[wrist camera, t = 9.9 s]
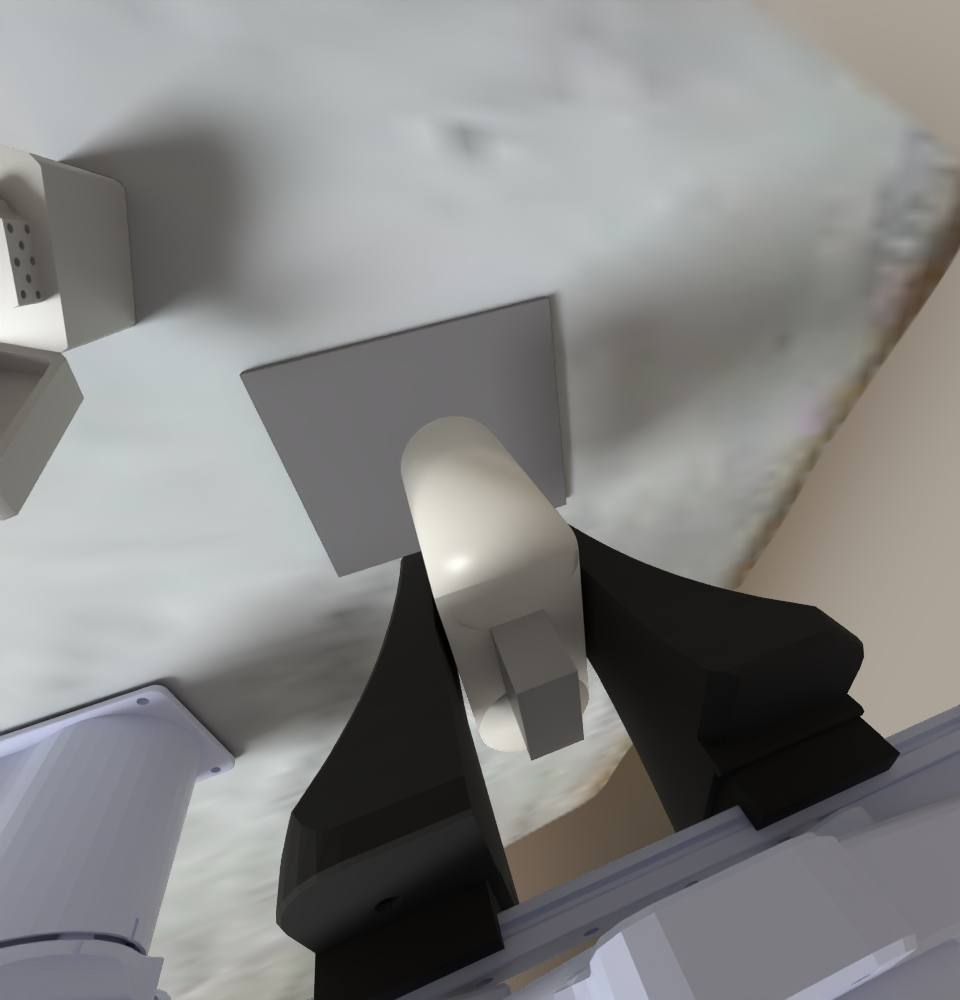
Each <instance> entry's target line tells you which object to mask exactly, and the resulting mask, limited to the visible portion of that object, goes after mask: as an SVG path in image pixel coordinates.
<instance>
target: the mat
mask: <svg viewBox="0 0 960 1000" xmlns="http://www.w3.org/2000/svg"><path fill="white" fill-rule="evenodd" d="M240 377H241V379H242V381H243V383H244V385H245V387H246V390H247V392H248V394H249V396H250V398H251V400H252V402H253V404H254V406H255V408H256V410H257V412H258V414H259V416H260V418H261V420H262V422H263V424H264V426H265V428H266V430H267V432H268V434H269V436H270V438H271V440H272V442H273V444H274V446H275V448H276V451H277V453H278V455H279V457H280V459H281V461H282V463H283V465H284V467H285V469H286V471H287V473H288V475H289V477H290V479H291V481H292V483H293V485H294V487H295V489H296V491H297V493H298V495H299V497H300V499H301V501H302V503H303V505H304V507H305V509H306V511H307V514H308V516H309V518H310V520H311V522H312V524H313V526H314V528H315V530H316V532H317V534H318V536H319V538H320V540H321V542H322V544H323V546H324V548H325V550H326V552H327V554H328V556H329V558H330V560H331V562H332V564H333V566H334V568H335V570H336V572H337V574H338V577H342V576H345V575H348V574H351V573H354V572H357V571H361V570H364V569H367V568H370V567H373V566H376V565H379V564H382V563H386V562H389V561H392V560H395V559H398V558H401V557H404V556H407V555H410V554H413V553H416V552H419V551H421V548H420V544H419V540H418V536H417V533H416V529H415V525H414V521H413V518H412V514H411V510H410V506H409V503H408V499H407V495H406V491H405V488H404V484H403V480H402V476H401V459H402V455H403V452H404V449H405V447H406V445H407V443H408V442H409V440H410V439H411V437H412V436H413V435H414V434H415V433H416V432H417V431H418V430H419V429H421V428H422V427H423V426H425V425H426V424H428V423H430V422H432V421H434V420H437V419H440V418H444V417H450V416H462V417H468V418H471V419H474V420H476V421H478V422H480V423H482V424H483V425H485V426H486V427H487V428H488V429H489V430H490V431H491V432H492V433H493V434H494V435H495V437H496V438H497V439H498V440H499V442H500V443H501V444H502V445H503V446H504V448H505V449H506V450H507V451H508V452H509V454H510V455H511V456H512V457H513V458H514V460H515V461H516V462H517V463H518V465H519V466H520V467H521V468H522V469H523V471H524V472H525V473H526V474H527V475H528V477H529V478H530V479H531V480H532V481H533V483H534V484H535V485H536V486H537V488H538V489H539V490H540V491H541V492H542V494H543V495H544V496H545V497H546V498H547V500H548V501H549V502H550V503H551V504H552V506H553V507H554V508H557V507H560V506H563V505H566V493H565V481H564V470H563V458H562V446H561V434H560V422H559V410H558V399H557V387H556V375H555V363H554V351H553V339H552V328H551V316H550V304H549V298H546V297H542V298H538V299H534V300H530V301H526V302H522V303H518V304H514V305H510V306H506V307H502V308H498V309H494V310H490V311H486V312H481V313H477V314H473V315H469V316H465V317H461V318H457V319H453V320H449V321H445V322H441V323H437V324H433V325H429V326H425V327H421V328H417V329H413V330H409V331H405V332H401V333H397V334H393V335H389V336H385V337H381V338H377V339H373V340H369V341H364V342H360V343H356V344H352V345H348V346H344V347H340V348H336V349H332V350H328V351H324V352H320V353H316V354H312V355H308V356H304V357H300V358H296V359H292V360H288V361H284V362H280V363H276V364H272V365H268V366H264V367H260V368H256V369H252V370H248V371H243V372H242V373H241V374H240Z"/></svg>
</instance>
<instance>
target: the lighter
mask: <svg viewBox="0 0 960 1000" xmlns="http://www.w3.org/2000/svg"><path fill="white" fill-rule="evenodd" d="M134 324H136V316H135V304H134V291H133V279H132V267H131V255H130V242H129V230H128V218H127V206H126V194H125V188H124V187H123V186H122V185H121V184H120V183H119V182H118V180H115V179H112V178H109V177H106V176H102V175H99V174H96V173H93V172H90V171H86V170H83V169H80V168H77V167H73V166H70V165H67V164H64V163H60V162H57V161H54V160H51V159H48V158H44V157H41V156H38V155H35V154H31V153H28V152H25V151H22V150H18V149H15V148H11V147H8V146H5V145H1V144H0V520H3V521H4V520H6V519H8V518H11V517H13V516H15V515H18V513H19V511H20V510H21V508H22V506H23V504H24V503H25V501H26V499H27V497H28V496H29V494H30V492H31V490H32V489H33V487H34V485H35V483H36V482H37V480H38V478H39V476H40V475H41V473H42V471H43V469H44V468H45V466H46V464H47V462H48V461H49V459H50V457H51V455H52V453H53V452H54V450H55V448H56V446H57V445H58V443H59V441H60V439H61V438H62V436H63V434H64V432H65V431H66V429H67V427H68V425H69V424H70V422H71V420H72V418H73V417H74V415H75V413H76V411H77V410H78V408H79V406H80V404H81V403H82V401H83V399H84V397H83V395H82V392H81V390H80V388H79V386H78V384H77V381H76V379H75V377H74V375H73V373H72V371H71V368H70V366H69V364H68V362H67V360H66V358H65V357H64V356H63V355H62V354H61V353H63V352H65V351H68V350H71V349H73V348H76V347H79V346H81V345H84V344H87V343H90V342H92V341H95V340H98V339H100V338H103V337H106V336H108V335H111V334H114V333H116V332H119V331H122V330H125V329H127V328H130V327H131V326H133V325H134Z"/></svg>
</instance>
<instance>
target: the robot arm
mask: <svg viewBox="0 0 960 1000" xmlns="http://www.w3.org/2000/svg"><path fill="white" fill-rule="evenodd" d="M568 525H569V524H568ZM569 526H570V528H571V529H572V531H573V532H574V534H575V536H576V539H577V542H578V549H579V562H580V576H581V591H582V605H583V619H584V633H585V647H586V657H587V658H588V660H589V661H590V663H591V665H592V666H593V668H594V670H595V671H596V673H597V675H598V676H599V678H600V680H601V682H602V684H603V686H604V688H605V690H606V692H607V693H608V695H609V697H610V699H611V701H612V703H613V705H614V707H615V709H616V711H617V713H618V715H619V717H620V719H621V720H622V722H623V724H624V726H625V728H626V730H627V732H628V734H629V736H630V738H631V740H632V742H633V744H634V746H635V748H636V750H637V752H638V754H639V756H640V759H641V761H642V763H643V764H644V767H645V769H646V771H647V773H648V775H649V777H650V779H651V781H652V783H653V785H654V787H655V790H656V792H657V794H658V796H659V798H660V800H661V802H662V805H663V807H664V809H665V811H666V813H667V815H668V817H669V820H670V822H671V824H672V826H673V828H674V830H675V834H673V835H670V836H668V837H666V838H664V839H662V840H659V841H657V842H655V843H653V844H650V845H648V846H646V847H644V848H642V849H639V850H637V851H635V852H633V853H631V854H628V855H626V856H624V857H622V858H620V859H617V860H615V861H613V862H611V863H609V864H606V865H604V866H602V867H600V868H597V869H595V870H593V871H591V872H589V873H586V874H584V875H582V876H580V877H577V878H575V879H573V880H571V881H569V882H566V883H564V884H562V885H560V886H558V887H555V888H553V889H551V890H549V891H547V892H544V893H542V894H540V895H538V896H535V897H533V898H531V899H529V900H527V901H525V902H522V903H520V904H519V900H518V897H517V893H516V890H515V887H514V883H513V880H512V876H511V873H510V869H509V866H508V862H507V859H506V855H505V852H504V848H503V845H502V841H501V838H500V834H499V831H498V827H497V824H496V820H495V817H494V813H493V809H492V806H491V802H490V799H489V795H488V792H487V788H486V785H485V781H484V778H483V774H482V770H481V767H480V763H479V760H478V756H477V753H476V749H475V745H474V742H473V738H472V735H471V731H470V728H469V724H468V720H467V715H466V711H465V706H464V701H463V696H462V690H461V685H460V679H459V674H458V668H457V665H456V662H455V659H454V656H453V653H452V650H451V647H450V644H449V641H448V638H447V635H446V632H445V629H444V626H443V624H442V621H441V618H440V615H439V612H438V609H437V606H436V603H435V600H434V596H433V593H432V589H431V585H430V581H429V578H428V574H427V570H426V566H425V563H424V559H423V555H422V551H419V552H416V553H413V554H410V555H407V556H404V557H403V558H402V560H401V568H400V577H399V583H398V589H397V594H396V599H395V603H394V607H393V611H392V615H391V619H390V622H389V626H388V629H387V632H386V635H385V639H384V642H383V645H382V648H381V650H380V653H379V656H378V659H377V661H376V664H375V666H374V669H373V671H372V673H371V676H370V678H369V680H368V683H367V685H366V687H365V689H364V691H363V693H362V695H361V698H360V700H359V702H358V704H357V706H356V708H355V710H354V712H353V714H352V716H351V718H350V719H349V721H348V723H347V725H346V726H345V728H344V730H343V732H342V734H341V735H340V737H339V739H338V741H337V742H336V744H335V746H334V748H333V749H332V751H331V753H330V755H329V756H328V758H327V759H326V761H325V763H324V764H323V766H322V767H321V769H320V770H319V772H318V773H317V775H316V776H315V778H314V779H313V781H312V782H311V784H310V785H309V787H308V788H307V790H306V791H305V793H304V794H303V796H302V798H301V799H300V801H299V802H298V804H297V805H296V806H295V808H294V809H293V811H292V812H291V816H290V820H289V825H288V829H287V834H286V838H285V844H284V848H283V853H282V858H281V866H280V875H279V886H278V897H277V908H276V923H277V924H278V926H279V927H280V928H281V929H282V930H283V931H284V932H285V933H286V934H287V935H288V936H290V937H291V938H293V939H294V940H296V941H297V942H299V943H300V944H302V945H304V946H305V947H307V948H308V949H310V950H311V951H313V952H314V953H316V956H315V984H314V997H312V998H310V999H308V1000H960V705H958V706H956V707H953V708H951V709H949V710H947V711H945V712H943V713H940V714H938V715H936V716H933V717H931V718H929V719H927V720H925V721H923V722H920V723H918V724H916V725H914V726H911V727H909V728H907V729H905V730H903V731H900V732H898V733H896V734H894V735H891V736H889V737H887V738H885V739H884V738H883V737H882V736H881V735H880V734H879V733H878V732H876V731H875V730H874V729H873V728H872V727H871V726H870V725H869V724H868V723H867V722H865V721H864V720H863V719H862V718H861V717H860V716H861V715H863V713H864V710H863V708H862V706H861V705H860V704H858V703H857V702H856V701H855V700H854V699H853V698H852V697H851V696H849V695H848V694H847V693H848V691H849V689H850V687H851V685H852V683H853V681H854V679H855V677H856V675H857V673H858V671H859V669H860V667H861V664H862V661H863V658H864V651H863V644H862V642H861V641H860V640H859V639H858V637H856V636H855V635H854V634H852V633H851V632H849V631H848V630H847V629H845V628H844V627H843V626H842V625H840V624H839V623H837V622H836V621H835V620H834V619H832V618H831V617H829V616H828V615H827V614H825V613H824V612H823V611H821V610H820V609H818V608H817V607H815V606H809V605H803V604H798V603H792V602H786V601H780V600H774V599H768V598H762V597H757V596H753V595H748V594H744V593H740V592H735V591H731V590H727V589H723V588H719V587H715V586H711V585H708V584H704V583H701V582H698V581H694V580H691V579H688V578H684V577H681V576H678V575H675V574H672V573H669V572H667V571H664V570H661V569H659V568H656V567H653V566H651V565H648V564H646V563H643V562H641V561H638V560H636V559H634V558H632V557H629V556H627V555H625V554H623V553H621V552H619V551H617V550H614V549H612V548H610V547H609V546H607V545H605V544H603V543H601V542H599V541H597V540H595V539H593V538H592V537H590V536H588V535H586V534H584V533H583V532H581V531H579V530H578V529H576V528H574V527H572V526H571V525H569ZM234 764H235V757H234V756H233V755H232V754H231V753H230V752H229V751H228V750H227V749H226V748H225V747H224V746H223V745H222V744H221V743H220V742H219V741H218V740H217V739H216V738H215V737H214V736H213V735H212V734H211V733H210V732H209V731H208V730H207V729H206V728H205V727H204V726H203V725H202V724H201V723H200V722H199V721H198V720H197V719H196V718H195V717H194V716H193V715H192V714H191V713H190V712H189V711H188V710H187V709H186V708H185V707H184V706H183V705H182V704H181V703H180V702H179V700H178V699H177V698H176V697H175V696H174V695H173V694H172V693H171V692H170V691H169V690H168V689H167V688H165V687H164V686H161V685H152V686H148V687H145V688H142V689H139V690H136V691H133V692H130V693H127V694H125V695H122V696H119V697H116V698H113V699H110V700H107V701H104V702H101V703H98V704H95V705H92V706H89V707H86V708H83V709H80V710H77V711H74V712H71V713H68V714H65V715H62V716H59V717H56V718H53V719H50V720H47V721H44V722H41V723H38V724H35V725H32V726H29V727H26V728H23V729H20V730H17V731H14V732H11V733H8V734H5V735H2V736H0V1000H171V997H170V996H169V995H168V993H167V992H165V991H163V990H160V989H157V985H158V981H159V977H160V973H161V969H162V965H163V961H164V959H163V958H162V957H150V956H147V955H148V951H149V948H150V944H151V940H152V937H153V933H154V930H155V926H156V922H157V919H158V915H159V911H160V908H161V904H162V900H163V897H164V893H165V890H166V886H167V882H168V879H169V875H170V871H171V868H172V864H173V860H174V857H175V853H176V849H177V846H178V842H179V839H180V835H181V831H182V828H183V824H184V820H185V817H186V813H187V809H188V806H189V802H190V799H191V795H192V791H193V788H194V784H195V783H196V782H199V781H201V780H204V779H207V778H209V777H212V776H215V775H217V774H220V773H223V772H226V771H228V770H230V769H232V768H233V767H234ZM605 932H607V933H606V934H604V935H603V936H602V937H601V938H599V940H598V941H597V944H596V945H594V946H593V947H591V948H589V949H587V950H586V951H584V952H582V953H580V954H579V955H577V956H576V957H574V958H572V959H570V960H569V961H567V962H565V963H564V964H562V965H560V966H559V967H557V968H555V969H553V970H552V971H550V972H548V973H547V974H545V975H543V976H542V977H540V978H538V979H537V980H535V981H533V982H531V983H530V984H528V985H526V986H525V987H523V988H522V989H520V990H518V991H516V992H514V993H513V994H511V990H510V987H509V986H508V985H507V984H505V983H501V984H498V983H500V982H502V981H504V980H507V979H509V978H511V977H513V976H515V975H517V974H519V973H521V972H524V971H526V970H528V969H530V968H532V967H534V966H536V965H538V964H540V963H542V962H544V961H546V960H549V959H551V958H553V957H555V956H557V955H559V954H561V953H563V952H565V951H568V950H570V949H572V948H574V947H576V946H578V945H580V944H582V943H584V942H586V941H589V940H591V939H593V938H595V937H597V936H599V935H601V934H603V933H605ZM496 984H497V985H496Z"/></svg>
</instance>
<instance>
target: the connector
mask: <svg viewBox="0 0 960 1000" xmlns="http://www.w3.org/2000/svg"><path fill="white" fill-rule="evenodd" d="M401 476H402V480H403V484H404V488H405V491H406V495H407V499H408V503H409V506H410V510H411V514H412V518H413V521H414V525H415V529H416V533H417V536H418V540H419V544H420V548H421V551H422V555H423V559H424V563H425V566H426V570H427V574H428V578H429V581H430V585H431V589H432V593H433V596H434V600H435V603H436V606H437V609H438V612H439V615H440V618H441V621H442V624H443V626H444V629H445V632H446V635H447V638H448V641H449V644H450V647H451V650H452V653H453V656H454V659H455V662H456V665H457V668H458V671H459V674H460V677H461V680H462V683H463V686H464V688H465V691H466V694H467V697H468V700H469V703H470V706H471V709H472V712H473V715H474V718H475V721H476V724H477V727H478V730H479V733H480V736H481V738H482V740H483V741H484V743H485V744H486V745H488V746H489V747H491V748H493V749H496V750H499V751H507V752H513V751H522V750H528V753H529V755H530V758H531V761H532V760H534V759H537V758H539V757H542V756H544V755H547V754H549V753H552V752H554V751H556V750H559V749H561V748H564V747H566V746H569V745H571V744H574V743H576V742H579V741H581V740H584V734H583V722H582V714H583V712H584V711H585V709H586V706H587V704H588V700H589V690H588V676H587V661H586V647H585V633H584V619H583V605H582V591H581V576H580V562H579V549H578V542H577V539H576V536H575V534H574V532H573V531H572V529H571V528H570V526H569V525H568V524H567V523H566V521H565V520H564V519H563V518H562V517H561V515H560V514H559V513H558V512H557V510H556V509H555V508H554V507H553V506H552V504H551V503H550V502H549V501H548V500H547V498H546V497H545V496H544V495H543V494H542V492H541V491H540V490H539V489H538V488H537V486H536V485H535V484H534V483H533V481H532V480H531V479H530V478H529V477H528V475H527V474H526V473H525V472H524V471H523V469H522V468H521V467H520V466H519V465H518V463H517V462H516V461H515V460H514V458H513V457H512V456H511V455H510V454H509V452H508V451H507V450H506V449H505V448H504V446H503V445H502V444H501V443H500V442H499V440H498V439H497V438H496V437H495V435H494V434H493V433H492V432H491V431H490V430H489V429H488V428H487V427H486V426H485V425H483V424H482V423H480V422H478V421H476V420H474V419H471V418H468V417H462V416H450V417H444V418H440V419H437V420H434V421H432V422H430V423H428V424H426V425H425V426H423V427H422V428H421V429H419V430H418V431H417V432H416V433H415V434H414V435H413V436H412V437H411V439H410V440H409V442H408V443H407V445H406V447H405V449H404V452H403V455H402V459H401Z"/></svg>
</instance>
